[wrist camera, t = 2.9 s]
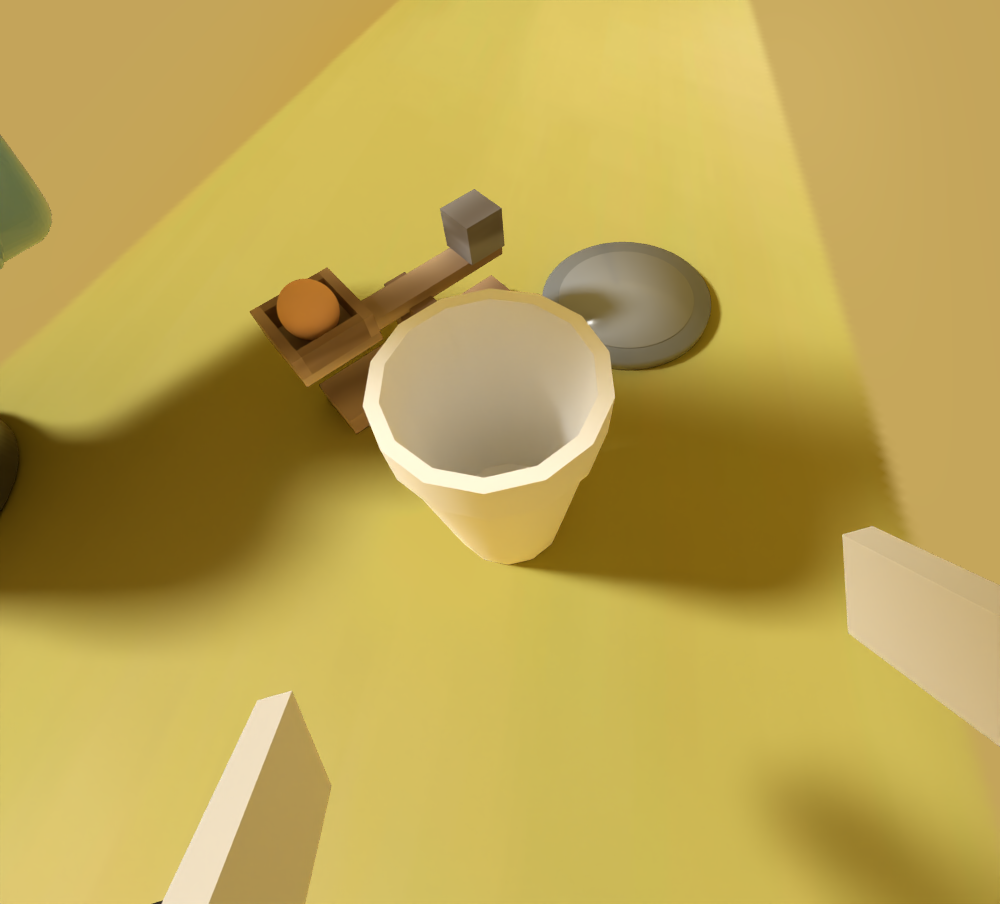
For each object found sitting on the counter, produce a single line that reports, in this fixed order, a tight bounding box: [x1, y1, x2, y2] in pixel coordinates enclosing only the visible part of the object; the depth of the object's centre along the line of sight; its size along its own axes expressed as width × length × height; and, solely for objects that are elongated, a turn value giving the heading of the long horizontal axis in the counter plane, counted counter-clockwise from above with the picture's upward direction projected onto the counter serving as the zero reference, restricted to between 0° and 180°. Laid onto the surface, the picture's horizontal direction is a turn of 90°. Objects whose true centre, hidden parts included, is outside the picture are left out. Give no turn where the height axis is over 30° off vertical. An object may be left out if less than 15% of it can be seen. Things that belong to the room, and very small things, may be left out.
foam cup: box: [363, 289, 615, 565], centre depth 25 cm, size 10×9×13 cm
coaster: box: [543, 242, 711, 370], centre depth 37 cm, size 12×12×1 cm
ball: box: [277, 279, 340, 340], centre depth 28 cm, size 3×3×3 cm
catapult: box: [250, 189, 510, 434], centre depth 33 cm, size 5×16×9 cm, turn 129°
